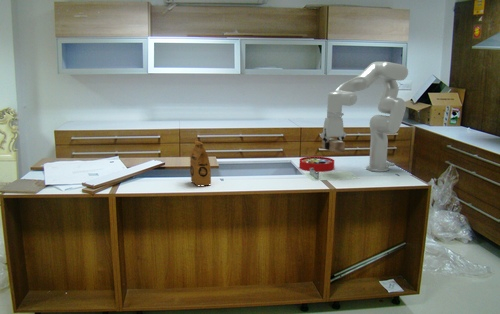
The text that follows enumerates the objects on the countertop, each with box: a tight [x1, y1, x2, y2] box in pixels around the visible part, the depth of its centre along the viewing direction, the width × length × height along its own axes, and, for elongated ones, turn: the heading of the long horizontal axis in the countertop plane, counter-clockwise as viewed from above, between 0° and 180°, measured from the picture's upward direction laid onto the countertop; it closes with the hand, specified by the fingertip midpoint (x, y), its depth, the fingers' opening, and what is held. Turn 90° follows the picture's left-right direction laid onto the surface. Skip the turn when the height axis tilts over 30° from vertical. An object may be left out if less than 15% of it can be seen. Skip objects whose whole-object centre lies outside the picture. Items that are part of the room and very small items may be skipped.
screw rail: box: [309, 168, 320, 181], centre depth 247 cm, size 2×13×4 cm, turn 10°
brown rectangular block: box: [321, 137, 346, 153], centre depth 246 cm, size 6×14×5 cm, turn 19°
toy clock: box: [298, 155, 335, 172], centre depth 268 cm, size 20×6×20 cm
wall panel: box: [303, 170, 359, 182], centre depth 249 cm, size 26×16×1 cm, turn 100°
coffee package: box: [189, 140, 212, 186], centre depth 236 cm, size 10×12×22 cm
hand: (332, 148), depth 246 cm, fingers closed on brown rectangular block, 6 cm apart
